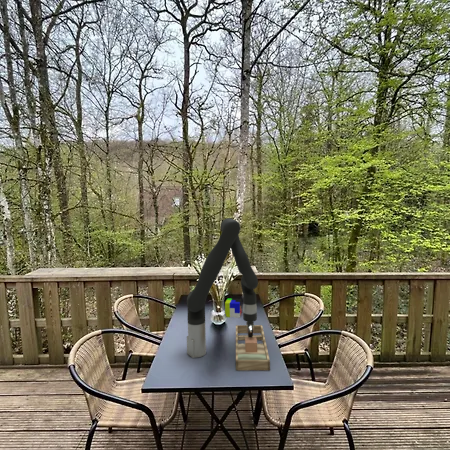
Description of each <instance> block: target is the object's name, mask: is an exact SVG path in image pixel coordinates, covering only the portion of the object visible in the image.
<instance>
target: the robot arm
mask: <svg viewBox="0 0 450 450" xmlns="http://www.w3.org/2000/svg"><path fill="white" fill-rule="evenodd" d="M240 224H241V223H239V221H237V220H235V219H234V218H232V217H228V218H224V219H223V220H222V222H221V223H220V231H221V234H220V236H219V239H218V241H217V243H216V244H215V245H214V247H213V248H212V249H211V250H210V252H209V253H208V255H207V257H206V258H205V260H204V262H203V264H202V268H201V270H200V273H199V276H198V281H197V283H196V285H195V287H194V288H193V290H191V291H190V292H189V293H188V295H187V297H186V305H187V306H186V307H187V336H186V354H187V355H188V356H190V357H191V358H192V359H196V358H201V357H204V356H206V354H207V338H206V337H207V336H206V334H207V333H206V301H207V298H208V295H209V293H210V290H211V288H212V286H214V283H215V282H216V280H217V278H218V276H219V274H220V272H221V270H222V268H223V265H224V263H225V261H226V260H227V256H228V255H229V253H230V251H231V253H232V256H233V259H234V261H235V264H236V267H237V270H238V271H239V273H240V274H241V278H240V286H241V291H242V295H243V296H242V301H243V302H242V319H243V321H245V322H246V323H245V324H246V325H247V332H248V333H247V335H248V337H252V336H253V335H254V333H253V332H254V325H255V324H254V322H256V321H257V320H258V306H257V294H256V292H255V289H256V288H257V287H258V285H259V280H258V279H259V278H258V277H257V275H256V272H255V271H254V269H253V268H252V266H251V265H252V264H251V262H250V259H249V256H248V254H247V251H246V250H245V247H244V246H243V244H242V242H241V238H240V236H239V235H240V232H241V225H240Z"/></svg>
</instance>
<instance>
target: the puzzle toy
mask: <svg viewBox="0 0 450 450" xmlns="http://www.w3.org/2000/svg"><path fill="white" fill-rule="evenodd" d="M225 314H226V316H227V317H226V318H232V317H234V318H233V319H240V318H241V315H242V314H243V302H242V298H227V299H226V300H225V302H224V315H225Z"/></svg>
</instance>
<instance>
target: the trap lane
mask: <svg viewBox="0 0 450 450" xmlns="http://www.w3.org/2000/svg"><path fill="white" fill-rule="evenodd" d="M238 334H241V335H238ZM242 334H244V335H242ZM245 334H246V335H245ZM254 334H256V335H254ZM245 337H248V332H247V325H245V324H244V325H242V324H241V325H238V324H236V325H235V371H271V361H270V355H269V351H268V345H267V341H266V338H265V337H266V336H265V332H264V327H263V325H262V324H259V325H257V324H254V332H253V336H252V337H256V338H257V341H261V342H262V343H257V352H246V350H245V343H239V341H245Z"/></svg>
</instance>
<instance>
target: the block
mask: <svg viewBox="0 0 450 450" xmlns="http://www.w3.org/2000/svg"><path fill="white" fill-rule="evenodd" d="M244 344H245V350H246V352H257V344H258V340H257V338H256V337H245V340H244Z"/></svg>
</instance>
